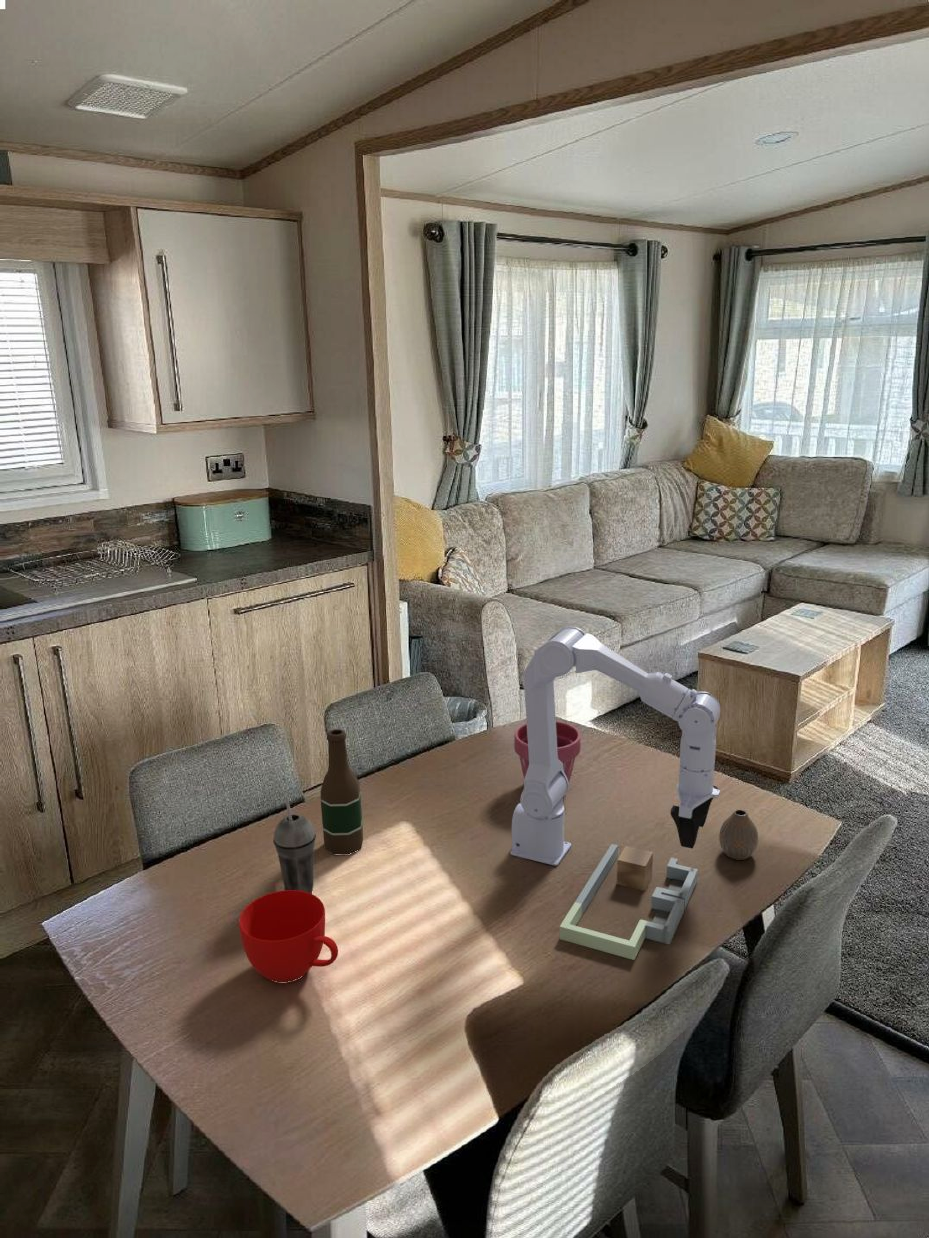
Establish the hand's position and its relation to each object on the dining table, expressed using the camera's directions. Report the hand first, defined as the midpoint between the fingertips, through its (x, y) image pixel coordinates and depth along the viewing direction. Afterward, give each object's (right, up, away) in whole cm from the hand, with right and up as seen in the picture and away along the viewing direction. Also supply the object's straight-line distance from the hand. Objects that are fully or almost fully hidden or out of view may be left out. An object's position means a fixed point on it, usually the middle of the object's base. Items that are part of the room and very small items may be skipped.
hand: (692, 835), depth 157 cm
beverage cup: (-69, -11, +3) cm, 70 cm away
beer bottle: (-63, -6, +18) cm, 66 cm away
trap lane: (-11, -11, -2) cm, 16 cm away
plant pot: (-22, +1, +39) cm, 45 cm away
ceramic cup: (-65, -18, -17) cm, 70 cm away
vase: (+11, -7, +12) cm, 18 cm away
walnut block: (-9, -9, +5) cm, 14 cm away
